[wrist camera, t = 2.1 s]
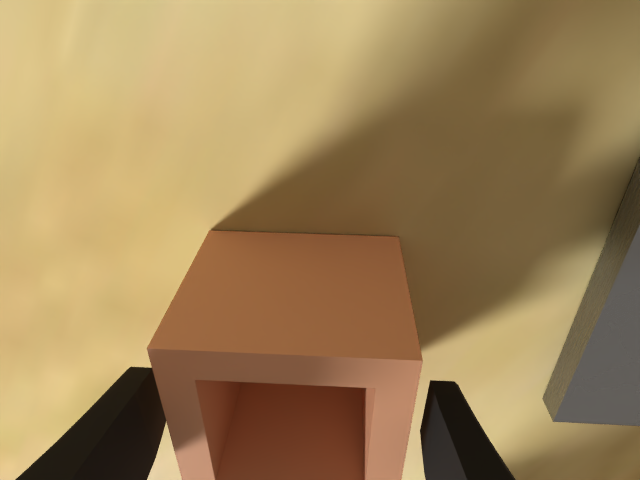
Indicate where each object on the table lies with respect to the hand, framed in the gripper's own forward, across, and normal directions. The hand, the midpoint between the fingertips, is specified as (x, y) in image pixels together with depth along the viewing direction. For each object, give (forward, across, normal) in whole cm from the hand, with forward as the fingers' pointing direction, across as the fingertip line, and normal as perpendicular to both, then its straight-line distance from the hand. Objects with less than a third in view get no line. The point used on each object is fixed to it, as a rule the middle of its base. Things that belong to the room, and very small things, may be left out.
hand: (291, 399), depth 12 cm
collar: (+4, 0, 0) cm, 4 cm away
